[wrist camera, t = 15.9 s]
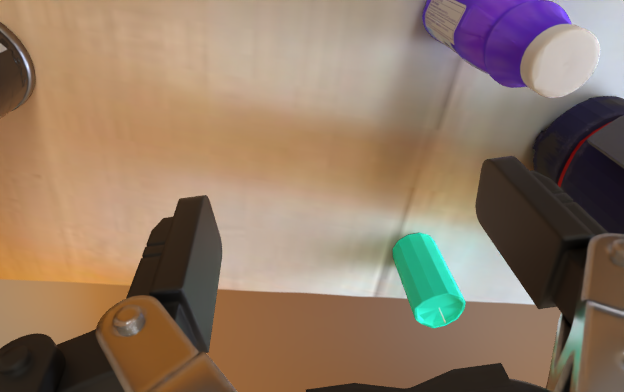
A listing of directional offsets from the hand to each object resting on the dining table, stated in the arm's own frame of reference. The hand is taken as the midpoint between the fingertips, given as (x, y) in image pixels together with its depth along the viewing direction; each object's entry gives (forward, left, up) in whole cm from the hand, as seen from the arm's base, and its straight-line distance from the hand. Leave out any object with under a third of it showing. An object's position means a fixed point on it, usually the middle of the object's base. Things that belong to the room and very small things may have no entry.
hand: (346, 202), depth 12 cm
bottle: (+15, -1, -30) cm, 34 cm away
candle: (+13, -31, -30) cm, 46 cm away
